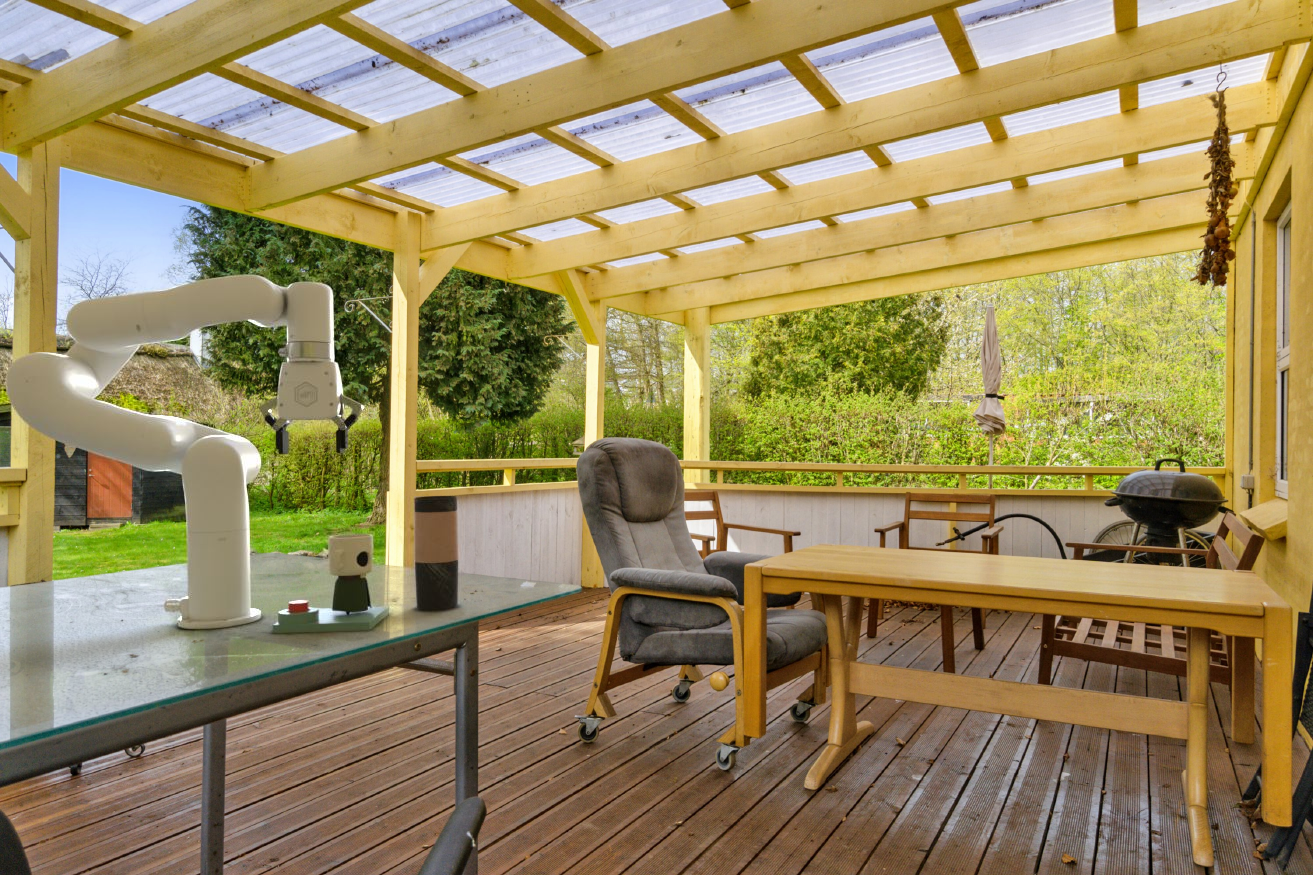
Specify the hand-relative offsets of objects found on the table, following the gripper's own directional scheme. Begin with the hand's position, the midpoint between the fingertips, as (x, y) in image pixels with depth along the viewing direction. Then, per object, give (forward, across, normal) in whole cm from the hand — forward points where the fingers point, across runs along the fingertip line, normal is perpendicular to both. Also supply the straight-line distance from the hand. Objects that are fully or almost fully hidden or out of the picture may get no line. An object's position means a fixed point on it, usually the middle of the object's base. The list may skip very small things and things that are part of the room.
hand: (312, 453), depth 149 cm
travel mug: (+28, +20, +5) cm, 35 cm away
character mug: (+27, +8, -4) cm, 28 cm away
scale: (+28, +5, -6) cm, 29 cm away
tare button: (+26, 0, -9) cm, 27 cm away
